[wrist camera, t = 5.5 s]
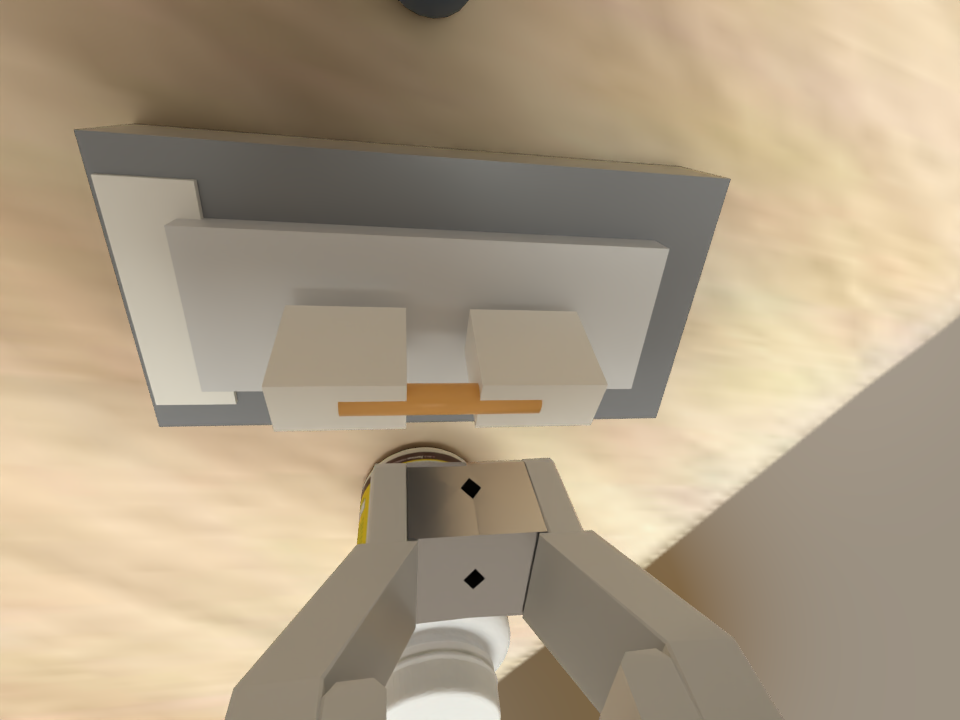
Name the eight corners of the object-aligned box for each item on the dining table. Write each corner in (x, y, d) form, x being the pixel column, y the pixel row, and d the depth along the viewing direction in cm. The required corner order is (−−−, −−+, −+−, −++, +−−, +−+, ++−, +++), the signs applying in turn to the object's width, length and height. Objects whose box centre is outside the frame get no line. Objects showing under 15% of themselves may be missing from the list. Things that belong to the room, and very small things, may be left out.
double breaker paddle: (284, 305, 13) (260, 389, 11) (576, 311, 14) (609, 387, 12) (293, 349, 14) (273, 435, 12) (563, 351, 15) (591, 428, 13)
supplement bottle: (415, 543, 25) (424, 793, 16) (336, 487, 22) (294, 746, 13) (501, 486, 24) (562, 719, 15) (428, 419, 21) (448, 653, 12)
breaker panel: (133, 124, 14) (47, 132, 11) (681, 166, 17) (751, 183, 14) (193, 380, 19) (145, 445, 15) (625, 379, 22) (668, 433, 18)
